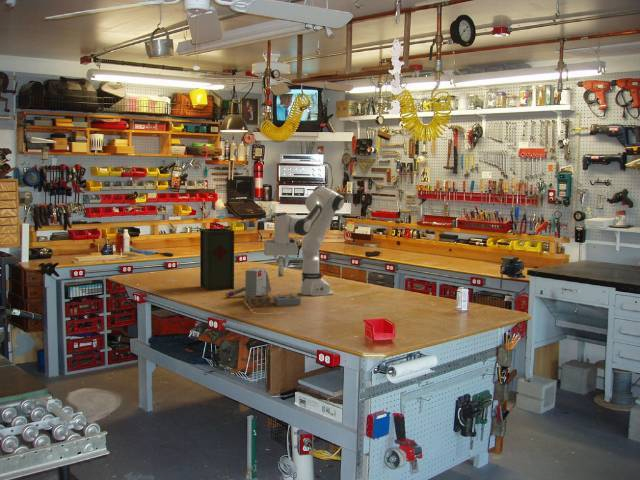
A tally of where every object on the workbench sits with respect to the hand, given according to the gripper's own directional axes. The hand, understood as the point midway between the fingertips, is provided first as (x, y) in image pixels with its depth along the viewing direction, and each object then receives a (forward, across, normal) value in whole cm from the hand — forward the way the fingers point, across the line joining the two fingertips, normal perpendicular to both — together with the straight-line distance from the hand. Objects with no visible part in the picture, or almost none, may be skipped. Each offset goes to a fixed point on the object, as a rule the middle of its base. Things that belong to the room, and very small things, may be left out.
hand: (280, 262), depth 390 cm
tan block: (+25, +8, 0) cm, 26 cm away
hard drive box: (+27, -11, +18) cm, 34 cm away
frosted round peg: (+8, 0, -1) cm, 8 cm away
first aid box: (+27, -29, +66) cm, 77 cm away
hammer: (+27, -14, +34) cm, 46 cm away
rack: (+26, -13, 0) cm, 29 cm away
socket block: (+26, +4, 0) cm, 27 cm away
